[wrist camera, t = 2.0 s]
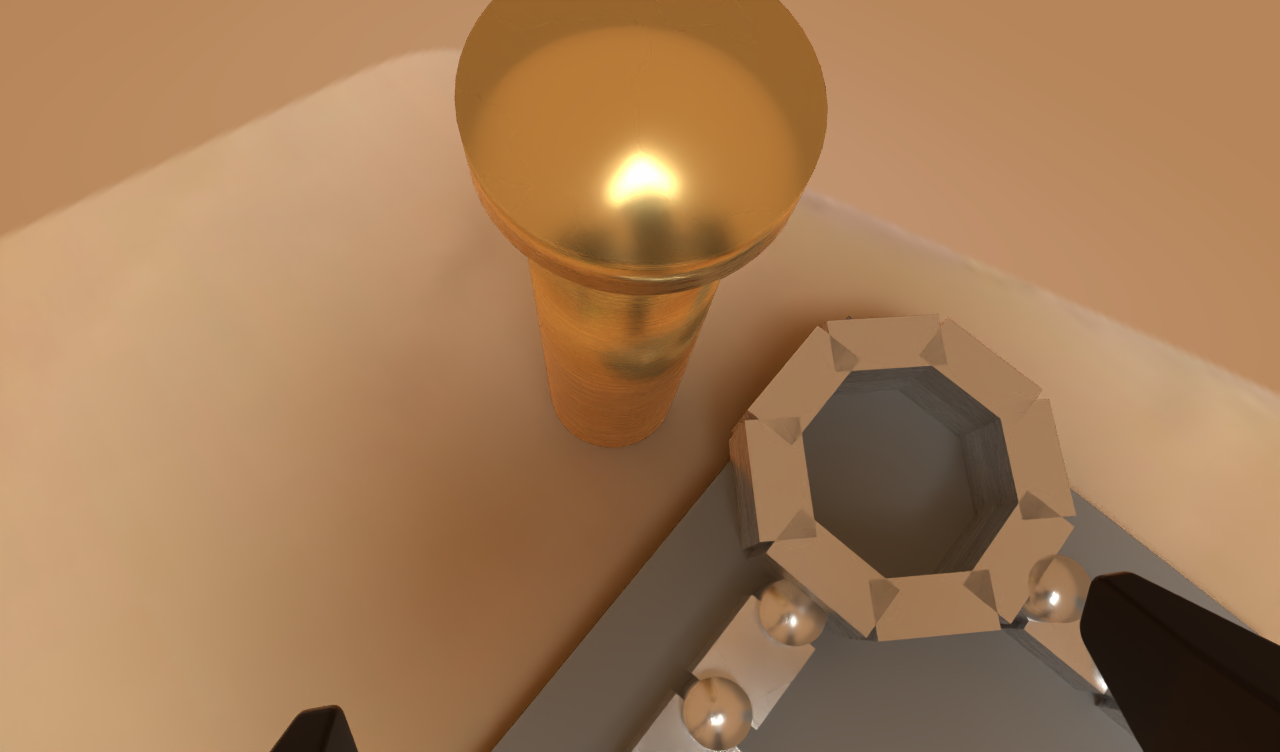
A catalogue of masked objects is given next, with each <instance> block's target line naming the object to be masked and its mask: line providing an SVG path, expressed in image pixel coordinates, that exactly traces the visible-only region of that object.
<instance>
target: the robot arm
mask: <svg viewBox="0 0 1280 752" xmlns="http://www.w3.org/2000/svg"><path fill="white" fill-rule="evenodd" d="M1080 634H1081V637H1082V640H1083V643H1084V645H1085V647H1086V649H1087V651H1088V652H1089V654H1090V656H1091V658H1092V660H1093V662H1094V663H1095V665H1096V667H1097V669H1098V671H1099V672H1100V674H1101V676H1102V678H1103V680H1104V682H1105V683H1106V685H1107V687H1108V689H1109V691H1110V693H1111V694H1112V696H1113V698H1114V700H1115V702H1116V704H1117V705H1118V707H1119V709H1120V711H1121V713H1122V715H1123V716H1124V718H1125V720H1126V722H1127V724H1128V726H1129V727H1130V729H1131V731H1132V733H1133V735H1134V736H1135V738H1136V740H1137V742H1138V744H1139V745H1140V747H1141V749H1142V750H1143V752H1280V645H1278V644H1276V643H1274V642H1272V641H1270V640H1268V639H1266V638H1263V637H1261V636H1259V635H1257V634H1255V633H1253V632H1251V631H1249V630H1247V629H1245V628H1243V627H1241V626H1239V625H1237V624H1235V623H1233V622H1231V621H1229V620H1227V619H1225V618H1223V617H1221V616H1219V615H1217V614H1215V613H1213V612H1211V611H1209V610H1207V609H1205V608H1203V607H1201V606H1199V605H1197V604H1195V603H1193V602H1191V601H1189V600H1187V599H1185V598H1183V597H1181V596H1179V595H1177V594H1175V593H1173V592H1171V591H1169V590H1167V589H1165V588H1163V587H1161V586H1159V585H1157V584H1155V583H1153V582H1151V581H1149V580H1147V579H1145V578H1143V577H1141V576H1139V575H1137V574H1135V573H1132V572H1128V571H1120V572H1114V573H1108V574H1102V575H1098V576H1096V577H1095V578H1094V579H1093V580H1092V581H1091V584H1090V586H1089V590H1088V594H1087V597H1086V601H1085V604H1084V608H1083V612H1082V615H1081V619H1080ZM270 752H358V750H357V747H356V745H355V742H354V739H353V736H352V734H351V731H350V728H349V725H348V723H347V720H346V717H345V715H344V712H343V710H342V709H341V708H340V707H339V706H337V705H329V706H323V707H317V708H311V709H307V710H304V711H302V712H301V713H299V714H298V715H297V716H296V717H295V719H294V720H293V721H292V723H291V724H290V725H289V727H288V728H287V729H286V731H285V732H284V733H283V735H282V736H281V737H280V739H279V740H278V741H277V743H276V744H275V745H274V747H273V748H272V749H271V751H270Z"/></svg>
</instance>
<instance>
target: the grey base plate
mask: <svg viewBox="0 0 1280 752" xmlns="http://www.w3.org/2000/svg"><path fill="white" fill-rule="evenodd" d="M850 319H852V318H851V317H849V316H848V317H847V319H846V320H850ZM802 438H803V445H804V452H805V459H806V466H807V473H808V480H809V487H810V494H811V501H812V507H813V514H814V520H815V521H817V522H818V523H819V524H820V525H821V526H823V527H824V528H825V529H826V530H827V531H829V532H830V533H831V534H832V535H833V536H835V537H836V538H837V539H838V540H840V541H841V542H842V543H843V544H844V545H846V546H847V547H848V548H849V549H850V550H852V551H853V552H854V553H855V554H856V555H858V556H859V557H860V558H861V559H863V560H864V561H865V562H866V563H867V564H869V565H870V566H871V567H872V568H873V569H875V570H876V571H877V572H878V573H879V574H881V575H882V576H883V577H884V578H886V579H887V578H898V577H909V576H921V575H932V574H933V573H934V572H935V570H936V569H937V567H938V566H939V564H940V563H941V562H942V560H943V559H944V557H945V556H946V554H947V553H948V552H949V550H950V549H951V547H952V546H953V544H954V543H955V542H956V540H957V539H958V537H959V536H960V534H961V533H962V532H963V530H964V529H965V527H966V526H967V524H968V523H969V522H970V520H971V519H972V517H973V516H974V510H973V505H972V500H971V495H970V490H969V485H968V480H967V475H966V470H965V465H964V460H963V455H962V450H961V445H960V440H959V438H958V437H957V436H956V435H954V434H953V433H952V432H950V431H949V430H948V429H947V428H945V427H944V426H943V425H942V424H940V423H939V422H938V421H936V420H935V419H934V418H933V417H931V416H930V415H929V414H928V413H926V412H925V411H924V410H922V409H921V408H920V407H919V406H917V405H916V404H915V403H914V402H912V401H911V400H910V399H908V398H907V397H906V396H905V395H903V394H902V393H901V392H899V391H898V390H896V391H881V392H867V393H852V394H837V395H832V396H831V397H830V398H829V399H828V401H827V402H826V403H825V404H824V406H823V407H822V408H821V409H820V411H819V412H818V413H817V414H816V416H815V417H814V418H813V419H812V421H811V422H810V423H809V424H808V426H807V427H806V428H805V429H804V431H803V432H802ZM1070 491H1071V495H1072V499H1073V504H1074V508H1075V512H1076V516H1072V517H1067V518H1064V519H1065V520H1066V521H1068V522H1069V523H1070V524H1072V525H1073V526H1074V529H1073V530H1072V532H1071V533H1070V535H1069V536H1068V538H1067V539H1066V541H1065V542H1064V544H1063V545H1062V547H1061V548H1060V550H1059V551H1058V553H1057V554H1056V555H1063V556H1067V557H1069V558H1071V559H1073V560H1075V561H1076V562H1077V563H1079V564H1080V565H1081V566H1082V567H1083V569H1084V570H1085V571H1086V573H1087V574H1088V576H1089V578H1090V581H1092V580H1093V579H1094V578H1095V577H1096V576H1098V575H1102V574H1108V573H1114V572H1120V571H1128V572H1132V573H1135V574H1137V575H1139V576H1141V577H1143V578H1145V579H1147V580H1149V581H1151V582H1153V583H1155V584H1157V585H1159V586H1161V587H1163V588H1165V589H1167V590H1169V591H1171V592H1173V593H1175V594H1177V595H1179V596H1181V597H1183V598H1185V599H1187V600H1189V601H1191V602H1193V603H1195V604H1197V605H1199V606H1201V607H1203V608H1205V609H1207V610H1209V611H1211V612H1213V613H1215V614H1217V615H1219V616H1221V617H1223V618H1225V619H1227V620H1229V621H1231V622H1233V623H1235V624H1237V625H1239V626H1241V627H1243V628H1245V629H1247V630H1249V631H1251V632H1253V633H1255V634H1257V633H1256V632H1255V631H1253V630H1252V629H1251V628H1250V627H1248V626H1247V625H1246V624H1244V623H1243V622H1242V621H1241V620H1239V619H1238V618H1237V617H1235V616H1234V615H1233V614H1232V613H1230V612H1229V611H1228V610H1226V609H1225V608H1224V607H1223V606H1221V605H1220V604H1219V603H1217V602H1216V601H1215V600H1214V599H1212V598H1211V597H1210V596H1208V595H1207V594H1206V593H1205V592H1203V591H1202V590H1201V589H1199V588H1198V587H1197V586H1196V585H1194V584H1193V583H1192V582H1190V581H1189V580H1188V579H1187V578H1185V577H1184V576H1183V575H1181V574H1180V573H1179V572H1178V571H1176V570H1175V569H1174V568H1172V567H1171V566H1170V565H1169V564H1167V563H1166V562H1165V561H1163V560H1162V559H1161V558H1159V557H1158V556H1157V555H1156V554H1154V553H1153V552H1152V551H1150V550H1149V549H1148V548H1147V547H1145V546H1144V545H1143V544H1141V543H1140V542H1139V541H1138V540H1136V539H1135V538H1134V537H1132V536H1131V535H1130V534H1129V533H1127V532H1126V531H1125V530H1123V529H1122V528H1121V527H1120V526H1118V525H1117V524H1116V523H1114V522H1113V521H1112V520H1111V519H1109V518H1108V517H1107V516H1105V515H1104V514H1103V513H1102V512H1100V511H1099V510H1098V509H1096V508H1095V507H1094V506H1093V505H1091V504H1090V503H1089V502H1087V501H1086V500H1085V499H1084V498H1082V497H1081V496H1080V495H1078V494H1077V493H1076V492H1075V491H1073V490H1072V489H1071V488H1070ZM754 550H755V549H745V550H742V549H741V541H740V532H739V524H738V516H737V507H736V499H735V490H734V482H733V473H732V465H731V459H730V461H729V462H728V463H727V464H726V466H725V467H724V468H723V469H722V470H721V472H720V473H719V474H718V475H717V477H716V478H715V479H714V480H713V481H712V483H711V484H710V485H709V486H708V487H707V489H706V490H705V491H704V492H703V494H702V495H701V496H700V497H699V498H698V500H697V501H696V502H695V503H694V505H693V506H692V507H691V508H690V509H689V511H688V512H687V513H686V514H685V516H684V517H683V518H682V519H681V520H680V522H679V523H678V524H677V525H676V526H675V528H674V529H673V530H672V531H671V533H670V534H669V535H668V536H667V537H666V539H665V540H664V541H663V542H662V544H661V545H660V546H659V547H658V548H657V550H656V551H655V552H654V553H653V555H652V556H651V557H650V558H649V559H648V561H647V562H646V563H645V564H644V565H643V567H642V568H641V569H640V570H639V572H638V573H637V574H636V575H635V576H634V578H633V579H632V580H631V581H630V583H629V584H628V585H627V586H626V587H625V589H624V590H623V591H622V592H621V594H620V595H619V596H618V597H617V598H616V600H615V601H614V602H613V603H612V605H611V606H610V607H609V608H608V609H607V611H606V612H605V613H604V614H603V615H602V617H601V618H600V619H599V620H598V622H597V623H596V624H595V625H594V626H593V628H592V629H591V630H590V631H589V633H588V634H587V635H586V636H585V637H584V639H583V640H582V641H581V642H580V644H579V645H578V646H577V647H576V648H575V650H574V651H573V652H572V653H571V654H570V656H569V657H568V658H567V659H566V661H565V662H564V663H563V664H562V665H561V667H560V668H559V669H558V670H557V672H556V673H555V674H554V675H553V676H552V678H551V679H550V680H549V681H548V683H547V684H546V685H545V686H544V687H543V689H542V690H541V691H540V692H539V693H538V695H537V696H536V697H535V698H534V700H533V701H532V702H531V703H530V704H529V706H528V707H527V708H526V709H525V711H524V712H523V713H522V714H521V715H520V717H519V718H518V719H517V720H516V722H515V723H514V724H513V725H512V726H511V728H510V729H509V730H508V731H507V732H506V734H505V735H504V736H503V737H502V739H501V740H500V741H499V742H498V743H497V745H496V746H495V747H494V748H493V750H492V751H491V752H623V751H624V750H625V749H626V747H627V746H628V745H629V743H630V742H631V741H632V739H633V738H634V737H635V736H636V734H637V733H638V732H639V730H640V729H641V728H642V726H643V725H644V724H645V723H646V721H647V720H648V719H649V717H650V716H651V715H652V713H653V712H654V711H655V710H656V708H657V707H658V706H659V704H660V703H661V702H662V700H663V699H664V698H665V697H666V695H667V694H668V693H669V691H670V690H671V689H672V690H673V691H674V692H675V693H676V694H677V695H680V692H681V690H682V688H683V687H684V685H685V684H686V683H687V682H688V681H689V680H690V679H691V678H693V677H694V676H692V675H691V674H690V673H689V672H688V671H687V670H686V669H687V668H688V667H689V665H690V664H691V663H692V662H693V660H694V659H695V658H696V656H697V655H698V654H699V652H700V651H701V650H702V649H703V647H704V646H705V645H706V643H707V642H708V641H709V639H710V638H711V637H712V636H713V634H714V633H715V632H716V630H717V629H718V628H719V627H720V625H721V624H722V623H723V621H724V620H725V619H726V617H727V616H728V615H729V614H730V612H731V611H732V610H733V608H734V607H735V606H736V604H737V603H738V602H739V601H740V599H741V598H742V597H743V596H745V595H753V596H754V594H755V593H756V591H757V590H758V589H759V588H760V587H761V586H763V585H764V584H766V583H769V582H772V581H771V580H770V579H769V578H768V577H767V576H766V575H764V574H763V573H762V572H761V571H760V570H758V569H757V568H756V567H755V566H754V565H753V564H751V563H750V562H749V561H748V560H747V559H748V557H749V556H750V555H751V554H752V552H753V551H754ZM1002 625H1003V624H1000V627H1002ZM1257 635H1259V634H1257ZM1259 636H1260V635H1259ZM809 644H810V645H812V646H813V647H814V648H815V650H814V652H813V653H812V654H811V656H810V657H809V659H808V660H807V661H806V663H805V664H804V665H803V667H802V668H801V670H800V671H799V672H798V674H797V675H796V676H795V678H794V679H793V681H792V682H791V683H790V685H789V686H788V687H787V689H786V690H785V692H784V693H783V694H782V696H781V697H780V698H779V700H778V701H777V703H776V704H775V705H774V707H773V708H772V710H771V711H770V712H769V714H768V715H767V716H766V718H765V719H764V721H763V722H762V723H761V725H760V726H759V727H758V729H757V730H756V729H754V728H753V727H750V730H749V732H748V734H747V736H746V737H745V738H744V740H743V741H742V742H741V743H740V744H738V745H737V746H736V747H737V748H738V749H739V750H740V751H741V752H1143V750H1142V749H1141V747H1140V745H1139V744H1138V742H1137V740H1136V739H1135V738H1134V737H1133V736H1131V735H1130V734H1129V733H1128V732H1127V731H1125V730H1124V729H1123V728H1122V727H1120V726H1119V725H1118V724H1117V723H1116V722H1114V721H1113V720H1112V719H1111V718H1109V717H1108V716H1107V715H1106V714H1105V713H1103V712H1102V711H1101V710H1100V709H1098V708H1097V707H1096V706H1095V705H1096V703H1097V702H1098V700H1099V698H1100V697H1097V696H1095V695H1093V694H1092V693H1090V692H1085V691H1079V690H1075V689H1074V688H1073V687H1071V686H1070V685H1069V684H1068V683H1067V682H1065V681H1064V680H1063V679H1062V678H1060V677H1059V676H1058V675H1057V674H1056V673H1054V672H1053V671H1052V670H1051V669H1049V668H1048V667H1047V666H1046V665H1045V664H1043V663H1042V662H1041V661H1040V660H1038V659H1037V658H1036V657H1035V656H1034V655H1032V654H1031V653H1030V652H1029V651H1027V650H1026V649H1025V648H1024V647H1023V646H1021V645H1020V644H1019V643H1018V642H1016V641H1015V640H1014V639H1013V638H1012V637H1010V636H1009V635H1008V634H1007V633H1005V632H1004V631H1003V630H1002V629H1001V630H995V631H985V632H974V633H964V634H953V635H942V636H932V637H921V638H911V639H900V640H890V641H879V642H877V641H866V640H855V639H847V637H846V636H838V635H835V634H834V633H833V632H832V631H830V630H829V629H828V628H827V627H826V626H825V627H824V629H823V631H822V633H821V634H820V635H819V637H818V638H817V639H815V640H814V641H813V642H811V643H809Z"/></svg>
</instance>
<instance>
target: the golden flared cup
mask: <svg viewBox="0 0 1280 752" xmlns="http://www.w3.org/2000/svg"><path fill="white" fill-rule="evenodd" d="M455 107H456V117H457V123H458V127H459V131H460V135H461V139H462V143H463V146H464V150H465V154H466V158H467V162H468V165H469V169H470V173H471V177H472V180H473V184H474V186H475V189H476V191H477V193H478V196H479V198H480V200H481V203H482V204H483V206H484V208H485V209H486V211H487V213H488V214H489V216H490V218H491V219H492V221H493V222H494V223H495V225H496V226H497V227H498V228H499V230H500V231H501V232H502V233H503V235H504V236H505V237H506V238H507V239H508V240H509V241H510V242H511V243H512V244H513V245H514V246H515V247H516V248H517V249H519V250H520V251H521V252H522V253H523V254H524V255H526V256H527V257H528V259H529V265H530V271H531V277H532V283H533V289H534V295H535V301H536V307H537V313H538V320H539V326H540V332H541V338H542V344H543V350H544V356H545V362H546V368H547V374H548V380H549V386H550V392H551V398H552V402H553V406H554V409H555V411H556V413H557V415H558V417H559V419H560V420H561V422H562V423H563V424H564V425H565V427H566V428H567V429H568V430H569V431H570V432H571V433H573V434H574V435H575V436H577V437H578V438H580V439H582V440H584V441H586V442H588V443H591V444H593V445H597V446H602V447H622V446H627V445H631V444H634V443H636V442H639V441H641V440H642V439H644V438H646V437H647V436H649V435H650V434H651V433H653V432H654V431H655V430H656V429H657V428H658V427H659V425H660V424H661V423H662V421H663V420H664V418H665V417H666V415H667V413H668V410H669V408H670V405H671V403H672V400H673V398H674V395H675V393H676V390H677V388H678V385H679V383H680V380H681V378H682V375H683V372H684V370H685V367H686V365H687V362H688V360H689V357H690V355H691V352H692V350H693V347H694V345H695V342H696V339H697V337H698V334H699V332H700V329H701V327H702V324H703V322H704V319H705V317H706V314H707V312H708V309H709V307H710V304H711V301H712V299H713V296H714V294H715V291H716V289H717V286H718V284H719V281H720V279H722V278H724V277H726V276H728V275H729V274H731V273H733V272H735V271H737V270H738V269H740V268H742V267H743V266H744V265H746V264H747V263H749V262H750V261H751V260H753V259H754V258H755V257H757V256H758V255H759V254H760V253H761V252H762V251H763V250H764V249H765V248H766V247H767V246H768V245H769V244H770V243H771V242H772V241H773V240H774V239H775V238H776V236H777V235H778V234H779V232H780V231H781V230H782V228H783V227H784V226H785V224H786V223H787V221H788V219H789V217H790V216H791V214H792V212H793V210H794V208H795V206H796V205H797V203H798V201H799V199H800V197H801V195H802V193H803V191H804V189H805V187H806V185H807V183H808V181H809V179H810V177H811V175H812V173H813V171H814V169H815V166H816V164H817V161H818V159H819V156H820V153H821V150H822V147H823V142H824V137H825V133H826V127H827V97H826V87H825V83H824V79H823V75H822V71H821V67H820V64H819V62H818V59H817V57H816V54H815V52H814V49H813V47H812V45H811V43H810V41H809V40H808V38H807V37H806V35H805V33H804V31H803V29H802V28H801V26H800V25H799V24H798V22H797V21H796V20H795V18H794V17H793V16H792V14H791V13H790V12H789V11H788V10H787V9H786V8H785V6H783V4H782V3H781V2H780V1H779V0H493V1H492V2H491V3H490V4H489V5H488V6H487V8H486V9H485V10H484V12H483V13H482V15H481V16H480V17H479V18H478V20H477V22H476V23H475V26H474V27H473V29H472V31H471V32H470V34H469V36H468V38H467V40H466V43H465V46H464V48H463V51H462V54H461V57H460V60H459V65H458V70H457V75H456V84H455Z"/></svg>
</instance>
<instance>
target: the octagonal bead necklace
mask: <svg viewBox="0 0 1280 752" xmlns="http://www.w3.org/2000/svg"><path fill="white" fill-rule="evenodd" d="M896 390H898V391H899V392H901V393H902V394H903V395H905V396H906V397H907V398H908V399H910V400H911V401H912V402H914V403H915V404H916V405H917V406H919V407H920V408H921V409H922V410H924V411H925V412H926V413H928V414H929V415H930V416H931V417H933V418H934V419H935V420H936V421H938V422H939V423H940V424H942V425H943V426H944V427H945V428H947V429H948V430H949V431H950V432H952V433H953V434H954V435H956V436H957V437H958V438H959V440H960V445H961V450H962V455H963V460H964V465H965V470H966V475H967V480H968V485H969V490H970V495H971V500H972V505H973V510H974V516H973V517H972V519H971V520H970V522H969V523H968V524H967V526H966V527H965V529H964V530H963V532H962V533H961V534H960V536H959V537H958V539H957V540H956V542H955V543H954V544H953V546H952V547H951V549H950V550H949V552H948V553H947V554H946V556H945V557H944V559H943V560H942V562H941V563H940V564H939V566H938V567H937V569H936V570H935V572H934V573H933V574H932V575H921V576H909V577H898V578H887V579H886V578H884V577H883V576H882V575H881V574H879V573H878V572H877V571H876V570H875V569H873V568H872V567H871V566H870V565H869V564H867V563H866V562H865V561H864V560H863V559H861V558H860V557H859V556H858V555H856V554H855V553H854V552H853V551H852V550H850V549H849V548H848V547H847V546H846V545H844V544H843V543H842V542H841V541H840V540H838V539H837V538H836V537H835V536H833V535H832V534H831V533H830V532H829V531H827V530H826V529H825V528H824V527H823V526H821V525H820V524H819V523H818V522H817V521H815V520H814V514H813V507H812V501H811V494H810V487H809V480H808V473H807V466H806V459H805V452H804V445H803V438H802V432H803V431H804V429H805V428H806V427H807V426H808V424H809V423H810V422H811V421H812V419H813V418H814V417H815V416H816V414H817V413H818V412H819V411H820V409H821V408H822V407H823V406H824V404H825V403H826V402H827V401H828V399H829V398H830V397H831V396H832V395H837V394H852V393H867V392H881V391H896ZM1041 391H1042V389H1041V388H1040V387H1039V386H1037V385H1036V384H1035V383H1034V382H1032V381H1031V380H1030V379H1028V378H1027V377H1026V376H1024V375H1023V374H1022V373H1020V372H1019V371H1018V370H1016V369H1015V368H1014V367H1013V366H1011V365H1010V364H1009V363H1007V362H1006V361H1005V360H1003V359H1002V358H1001V357H999V356H998V355H997V354H995V353H994V352H993V351H992V350H990V349H989V348H988V347H986V346H985V345H984V344H982V343H981V342H980V341H978V340H977V339H976V338H974V337H973V336H972V335H970V334H969V333H968V332H967V331H965V330H964V329H963V328H961V327H960V326H959V325H957V324H956V323H955V322H953V321H952V320H951V319H949V318H947V319H946V320H945V321H943V322H942V323H941V324H940V323H939V318H938V314H933V315H916V316H899V317H883V318H866V319H850V320H833V321H827V322H826V323H825V324H824V325H823V326H822V328H820V327H819V326H817V327H816V328H815V329H814V330H813V332H812V333H811V334H810V335H809V336H808V338H807V339H806V340H805V341H804V343H803V344H802V345H801V346H800V347H799V349H798V350H797V351H796V352H795V353H794V355H793V356H792V357H791V358H790V359H789V361H788V362H787V363H786V364H785V365H784V367H783V368H782V369H781V370H780V371H779V373H778V374H777V375H776V376H775V377H774V379H773V380H772V381H771V382H770V383H769V385H768V386H767V387H766V388H765V389H764V391H763V392H762V393H761V394H760V395H759V397H758V398H757V399H756V400H755V402H754V403H753V404H752V405H751V406H750V408H749V409H748V410H747V411H746V413H745V414H744V415H743V416H742V418H741V419H740V420H739V421H738V423H737V424H736V425H735V427H734V428H733V429H732V430H731V431H732V432H734V434H733V435H732V437H731V438H730V439H729V448H730V457H731V465H732V473H733V482H734V490H735V499H736V507H737V516H738V524H739V532H740V541H741V549H742V550H745V549H755V550H754V551H753V552H752V554H751V555H750V556H749V557H748V559H747V560H748V561H749V562H750V563H751V564H753V565H754V566H755V567H756V568H757V569H758V570H760V571H761V572H762V573H763V574H764V575H766V576H767V577H768V578H769V579H770V580H771V581H772V582H769V583H766V584H764V585H763V586H761V587H760V588H759V589H758V590H757V591H756V593H755V594H754V596H753V595H745V596H743V597H742V598H741V599H740V601H739V602H738V603H737V604H736V606H735V607H734V608H733V610H732V611H731V612H730V614H729V615H728V616H727V617H726V619H725V620H724V621H723V623H722V624H721V625H720V627H719V628H718V629H717V630H716V632H715V633H714V634H713V636H712V637H711V638H710V639H709V641H708V642H707V643H706V645H705V646H704V647H703V649H702V650H701V651H700V652H699V654H698V655H697V656H696V658H695V659H694V660H693V662H692V663H691V664H690V665H689V667H688V668H687V669H686V670H687V671H688V672H689V673H690V674H691V675H692V676H694V677H693V678H691V679H690V680H689V681H688V682H687V683H686V684H685V685H684V687H683V688H682V690H681V692H680V695H677V694H676V693H675V692H674V691H673V690H672V689H671V690H670V691H669V693H668V694H667V695H666V697H665V698H664V699H663V700H662V702H661V703H660V704H659V706H658V707H657V708H656V710H655V711H654V712H653V713H652V715H651V716H650V717H649V719H648V720H647V721H646V723H645V724H644V725H643V726H642V728H641V729H640V730H639V732H638V733H637V734H636V736H635V737H634V738H633V739H632V741H631V742H630V743H629V745H628V746H627V747H626V749H625V750H624V751H623V752H741V751H740V750H739V749H738V748H737V747H736V746H737V745H738V744H740V743H741V742H742V741H743V740H744V738H745V737H746V736H747V734H748V732H749V730H750V727H753V728H754V729H756V730H757V729H758V727H759V726H760V725H761V723H762V722H763V721H764V719H765V718H766V716H767V715H768V714H769V712H770V711H771V710H772V708H773V707H774V705H775V704H776V703H777V701H778V700H779V698H780V697H781V696H782V694H783V693H784V692H785V690H786V689H787V687H788V686H789V685H790V683H791V682H792V681H793V679H794V678H795V676H796V675H797V674H798V672H799V671H800V670H801V668H802V667H803V665H804V664H805V663H806V661H807V660H808V659H809V657H810V656H811V654H812V653H813V652H814V650H815V648H814V647H813V646H812V645H810V644H809V643H811V642H813V641H814V640H815V639H817V638H818V637H819V635H820V634H821V633H822V631H823V629H824V627H825V626H826V627H827V628H828V629H829V630H830V631H832V632H833V633H834V634H835V635H838V636H846V637H847V639H855V640H866V641H877V642H879V641H890V640H900V639H911V638H921V637H932V636H942V635H953V634H964V633H974V632H985V631H995V630H1001V629H1002V630H1003V631H1004V632H1005V633H1007V634H1008V635H1009V636H1010V637H1012V638H1013V639H1014V640H1015V641H1016V642H1018V643H1019V644H1020V645H1021V646H1023V647H1024V648H1025V649H1026V650H1027V651H1029V652H1030V653H1031V654H1032V655H1034V656H1035V657H1036V658H1037V659H1038V660H1040V661H1041V662H1042V663H1043V664H1045V665H1046V666H1047V667H1048V668H1049V669H1051V670H1052V671H1053V672H1054V673H1056V674H1057V675H1058V676H1059V677H1060V678H1062V679H1063V680H1064V681H1065V682H1067V683H1068V684H1069V685H1070V686H1071V687H1073V688H1074V689H1075V690H1079V691H1085V692H1090V693H1092V694H1093V695H1095V696H1097V697H1100V698H1099V700H1098V702H1097V703H1096V705H1095V706H1096V707H1097V708H1098V709H1100V710H1101V711H1102V712H1103V713H1105V714H1106V715H1107V716H1108V717H1109V718H1111V719H1112V720H1113V721H1114V722H1116V723H1117V724H1118V725H1119V726H1120V727H1122V728H1123V729H1124V730H1125V731H1127V732H1128V733H1129V734H1130V735H1131V736H1133V737H1134V738H1135V736H1134V735H1133V733H1132V731H1131V729H1130V727H1129V726H1128V724H1127V722H1126V720H1125V718H1124V716H1123V715H1122V713H1121V711H1120V709H1119V707H1118V705H1117V704H1116V702H1115V700H1114V698H1113V696H1112V694H1111V693H1110V691H1109V689H1108V687H1107V685H1106V683H1105V682H1104V680H1103V678H1102V676H1101V674H1100V672H1099V671H1098V669H1097V667H1096V665H1095V663H1094V662H1093V660H1092V658H1091V656H1090V654H1089V652H1088V651H1087V649H1086V647H1085V645H1084V643H1083V640H1082V637H1081V634H1080V619H1081V615H1082V612H1083V608H1084V604H1085V601H1086V597H1087V594H1088V590H1089V586H1090V584H1091V581H1090V578H1089V576H1088V574H1087V573H1086V571H1085V570H1084V569H1083V567H1082V566H1081V565H1080V564H1079V563H1077V562H1076V561H1075V560H1073V559H1071V558H1069V557H1067V556H1063V555H1056V554H1057V553H1058V551H1059V550H1060V548H1061V547H1062V545H1063V544H1064V542H1065V541H1066V539H1067V538H1068V536H1069V535H1070V533H1071V532H1072V530H1073V529H1074V526H1073V525H1072V524H1070V523H1069V522H1068V521H1066V520H1065V519H1064V518H1067V517H1072V516H1076V512H1075V508H1074V504H1073V499H1072V495H1071V491H1070V487H1069V482H1068V478H1067V474H1066V470H1065V465H1064V461H1063V457H1062V453H1061V448H1060V444H1059V440H1058V435H1057V431H1056V427H1055V423H1054V418H1053V414H1052V410H1051V406H1050V401H1049V399H1042V400H1035V399H1036V398H1037V397H1038V395H1039V394H1040V392H1041ZM1000 624H1003V625H1002V627H1000ZM1135 739H1136V738H1135Z"/></svg>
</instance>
